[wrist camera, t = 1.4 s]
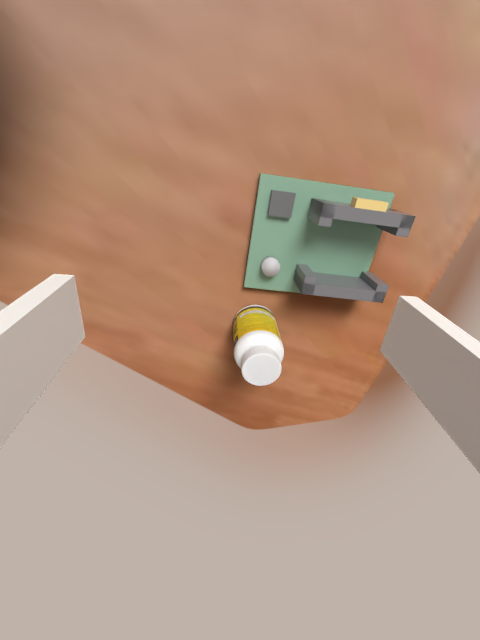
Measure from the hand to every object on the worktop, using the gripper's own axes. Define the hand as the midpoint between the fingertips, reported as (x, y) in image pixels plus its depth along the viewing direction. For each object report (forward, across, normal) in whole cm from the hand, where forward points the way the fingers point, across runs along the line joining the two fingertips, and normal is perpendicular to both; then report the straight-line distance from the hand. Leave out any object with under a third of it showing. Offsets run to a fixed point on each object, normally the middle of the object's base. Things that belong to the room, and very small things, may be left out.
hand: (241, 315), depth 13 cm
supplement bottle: (+23, +4, -12) cm, 26 cm away
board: (+22, +10, -2) cm, 24 cm away
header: (+22, +12, -2) cm, 26 cm away
